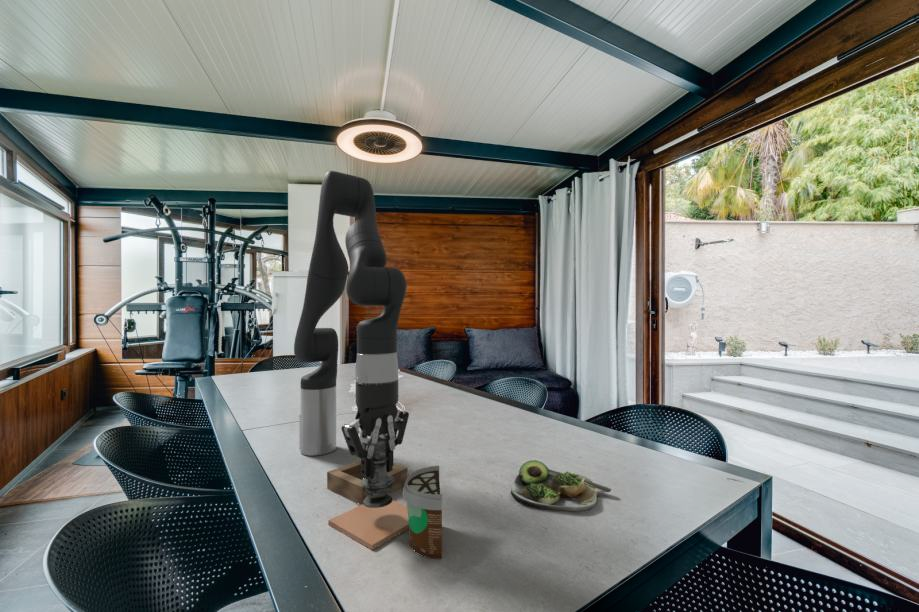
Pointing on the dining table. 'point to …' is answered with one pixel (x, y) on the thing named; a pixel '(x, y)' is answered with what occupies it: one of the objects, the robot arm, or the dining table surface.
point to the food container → (424, 511)
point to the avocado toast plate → (553, 488)
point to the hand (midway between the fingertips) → (377, 474)
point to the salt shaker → (378, 479)
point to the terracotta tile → (372, 523)
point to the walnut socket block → (359, 480)
